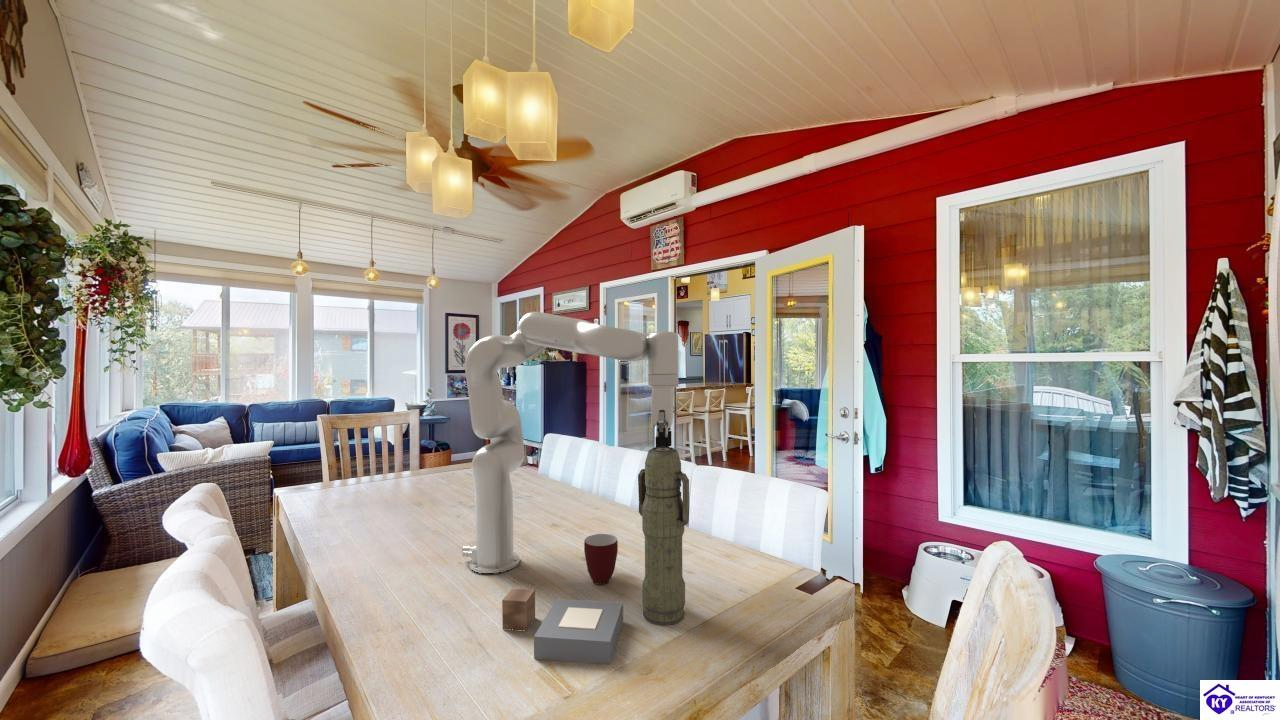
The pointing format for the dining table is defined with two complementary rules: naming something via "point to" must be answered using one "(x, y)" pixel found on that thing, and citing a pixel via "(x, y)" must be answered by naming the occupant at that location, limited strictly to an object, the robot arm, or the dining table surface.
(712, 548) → the dining table surface
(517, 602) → the walnut block
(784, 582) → the dining table surface
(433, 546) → the dining table surface
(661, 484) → the thermos
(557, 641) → the slate pedestal
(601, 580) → the mug
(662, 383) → the robot arm
